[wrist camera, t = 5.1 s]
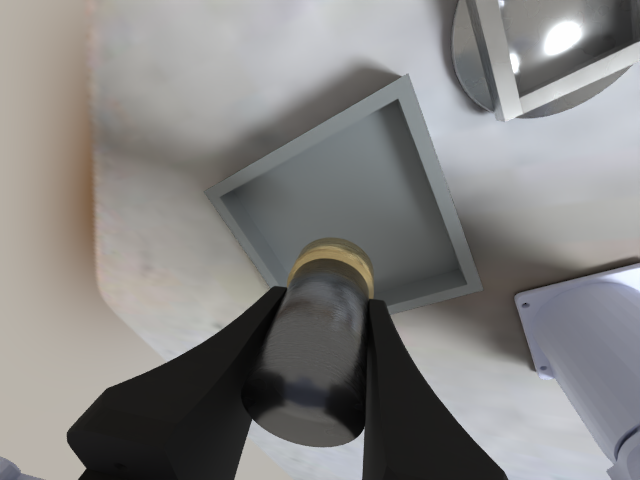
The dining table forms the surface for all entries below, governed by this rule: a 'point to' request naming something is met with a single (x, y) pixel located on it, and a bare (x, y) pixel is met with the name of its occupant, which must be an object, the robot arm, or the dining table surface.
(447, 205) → the bin tray
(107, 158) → the dining table surface
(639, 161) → the dining table surface
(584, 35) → the stud socket
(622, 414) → the robot arm
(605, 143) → the dining table surface
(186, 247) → the dining table surface
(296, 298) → the grey metal rounded cylinder
